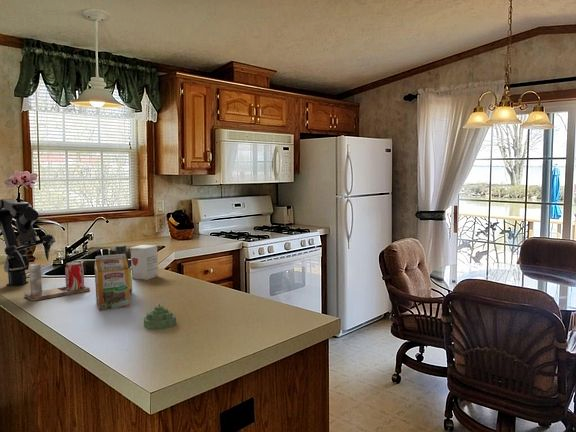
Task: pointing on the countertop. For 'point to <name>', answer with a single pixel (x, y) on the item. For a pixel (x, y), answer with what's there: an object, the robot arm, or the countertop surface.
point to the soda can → (74, 276)
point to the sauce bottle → (122, 250)
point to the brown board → (37, 286)
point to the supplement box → (144, 262)
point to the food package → (112, 282)
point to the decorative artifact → (159, 319)
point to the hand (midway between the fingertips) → (36, 263)
